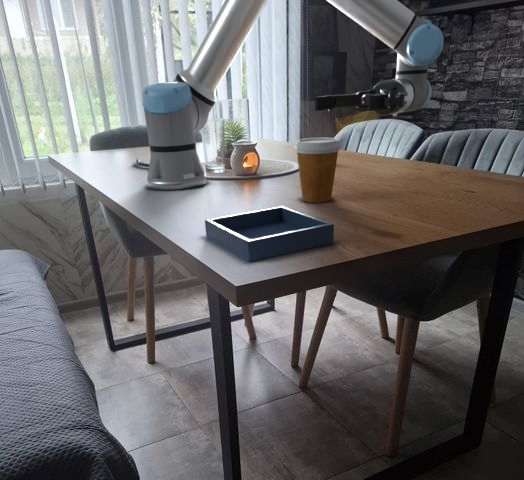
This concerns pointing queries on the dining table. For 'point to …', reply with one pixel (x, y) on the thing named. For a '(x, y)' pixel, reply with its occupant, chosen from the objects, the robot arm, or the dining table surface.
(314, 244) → the tray
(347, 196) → the dining table surface
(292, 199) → the dining table surface
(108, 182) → the dining table surface
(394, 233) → the dining table surface
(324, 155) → the disposable coffee cup
